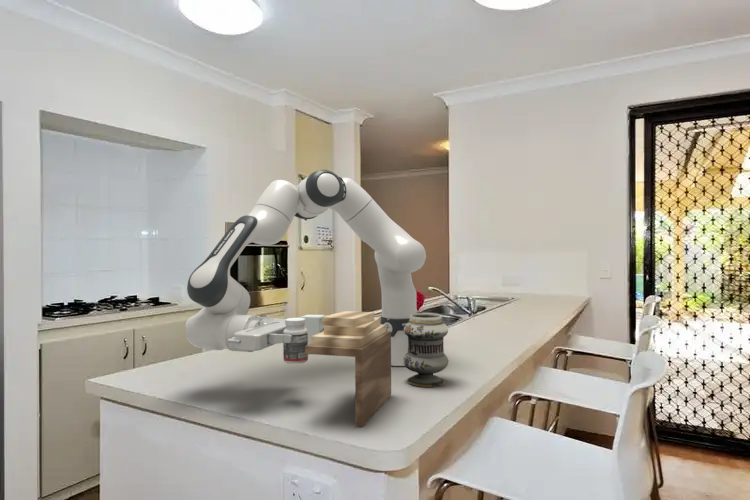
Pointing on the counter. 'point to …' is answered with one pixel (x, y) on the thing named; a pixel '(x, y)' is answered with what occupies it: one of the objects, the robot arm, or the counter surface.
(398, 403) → the counter surface
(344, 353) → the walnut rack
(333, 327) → the offcut stack
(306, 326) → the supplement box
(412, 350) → the apothecary jar
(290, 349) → the pill bottle
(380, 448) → the counter surface
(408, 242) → the robot arm
